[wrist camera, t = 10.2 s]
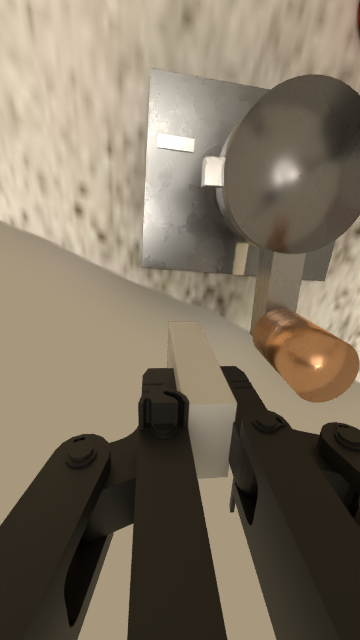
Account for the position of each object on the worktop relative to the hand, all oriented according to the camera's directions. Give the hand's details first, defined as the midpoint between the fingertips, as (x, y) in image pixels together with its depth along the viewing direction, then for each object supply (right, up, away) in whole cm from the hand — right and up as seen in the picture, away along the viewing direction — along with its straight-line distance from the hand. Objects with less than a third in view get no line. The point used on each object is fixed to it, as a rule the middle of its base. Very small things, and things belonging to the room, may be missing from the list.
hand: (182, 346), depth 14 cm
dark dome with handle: (+7, +8, +7) cm, 13 cm away
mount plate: (+6, +14, +13) cm, 21 cm away
